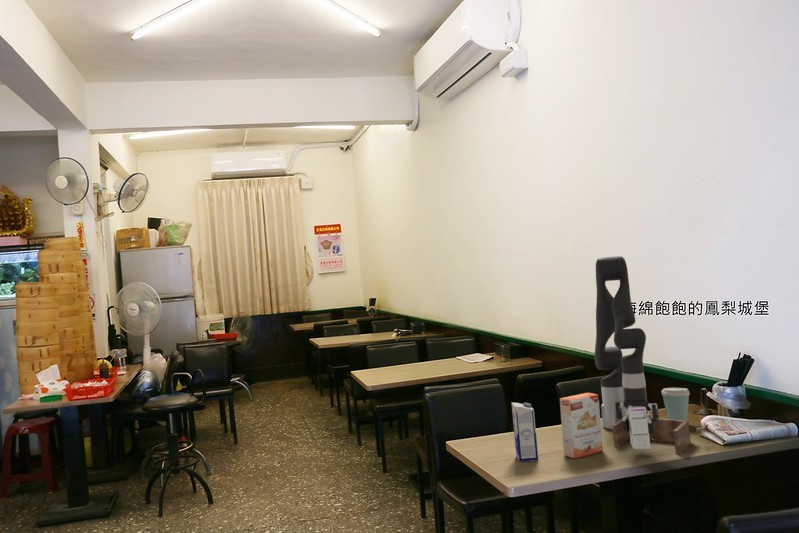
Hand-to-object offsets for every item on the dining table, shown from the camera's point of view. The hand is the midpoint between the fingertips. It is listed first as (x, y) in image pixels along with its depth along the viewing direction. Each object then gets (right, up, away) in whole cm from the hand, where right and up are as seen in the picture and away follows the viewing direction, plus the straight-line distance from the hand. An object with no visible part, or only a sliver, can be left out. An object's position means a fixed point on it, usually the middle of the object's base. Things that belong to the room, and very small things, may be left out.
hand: (638, 432), depth 204 cm
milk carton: (-38, -12, +7) cm, 40 cm away
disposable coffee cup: (+30, -7, +34) cm, 46 cm away
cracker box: (-17, -10, +7) cm, 21 cm away
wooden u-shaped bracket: (+9, -8, +10) cm, 15 cm away
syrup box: (+1, -5, 0) cm, 5 cm away
